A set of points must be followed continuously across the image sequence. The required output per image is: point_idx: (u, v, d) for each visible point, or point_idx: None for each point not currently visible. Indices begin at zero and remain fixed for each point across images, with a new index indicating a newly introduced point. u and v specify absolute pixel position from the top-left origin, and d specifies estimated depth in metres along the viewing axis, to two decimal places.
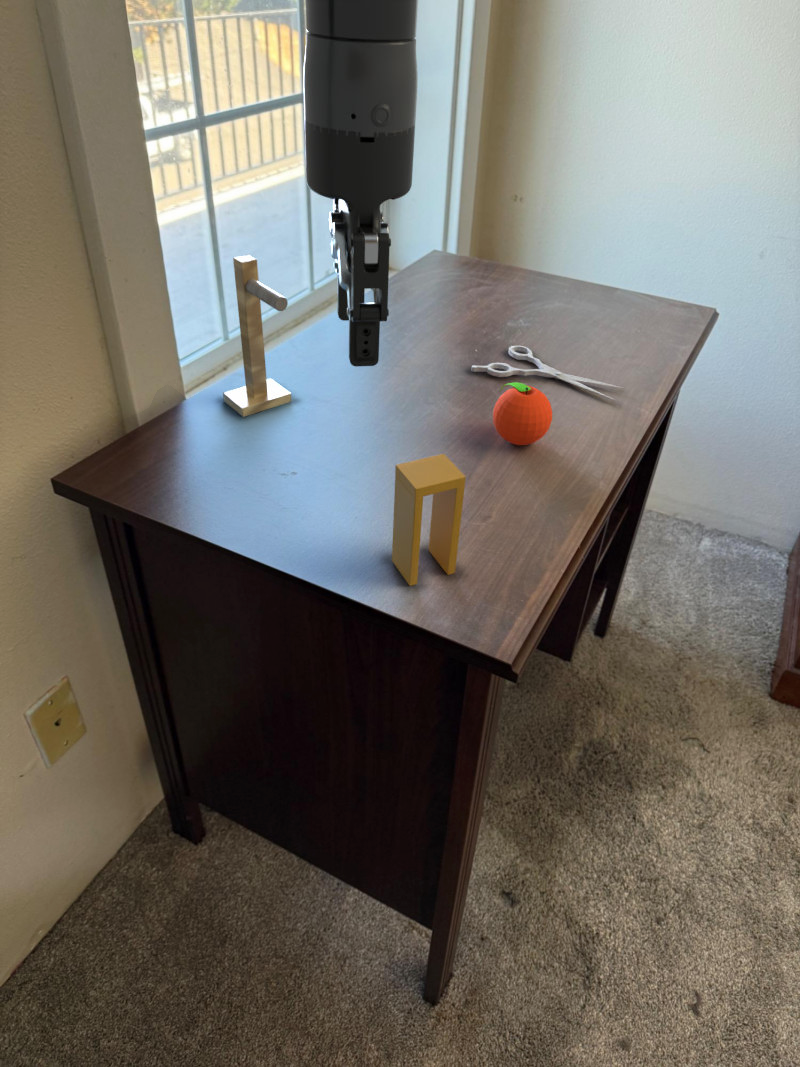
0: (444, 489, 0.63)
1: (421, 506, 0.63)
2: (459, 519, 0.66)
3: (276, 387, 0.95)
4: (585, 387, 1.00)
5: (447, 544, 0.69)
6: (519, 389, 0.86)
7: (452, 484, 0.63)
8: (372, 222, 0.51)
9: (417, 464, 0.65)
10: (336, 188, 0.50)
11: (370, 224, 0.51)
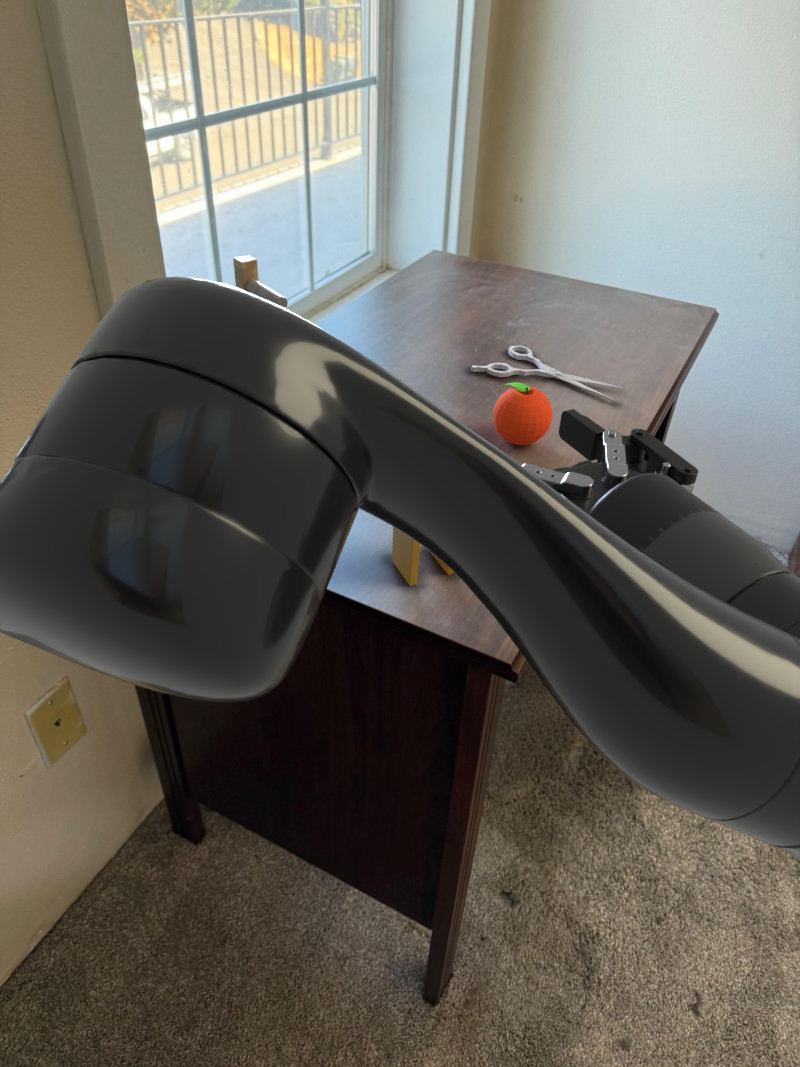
0: None
1: None
2: None
3: None
4: (585, 387, 1.00)
5: None
6: (519, 389, 0.86)
7: None
8: None
9: None
10: None
11: None
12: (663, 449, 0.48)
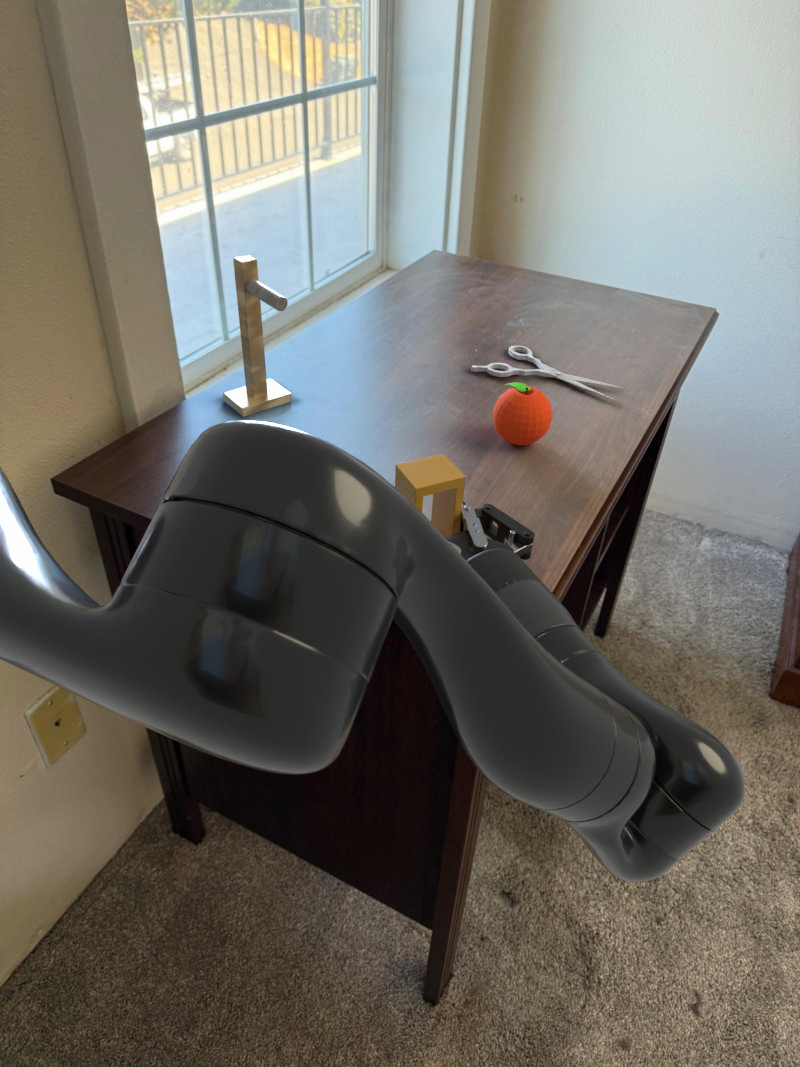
0: (444, 489, 0.63)
1: (421, 506, 0.63)
2: (459, 519, 0.66)
3: (276, 387, 0.95)
4: (585, 387, 1.00)
5: None
6: (519, 389, 0.86)
7: (452, 484, 0.63)
8: None
9: (418, 464, 0.65)
10: None
11: None
12: (507, 519, 0.65)
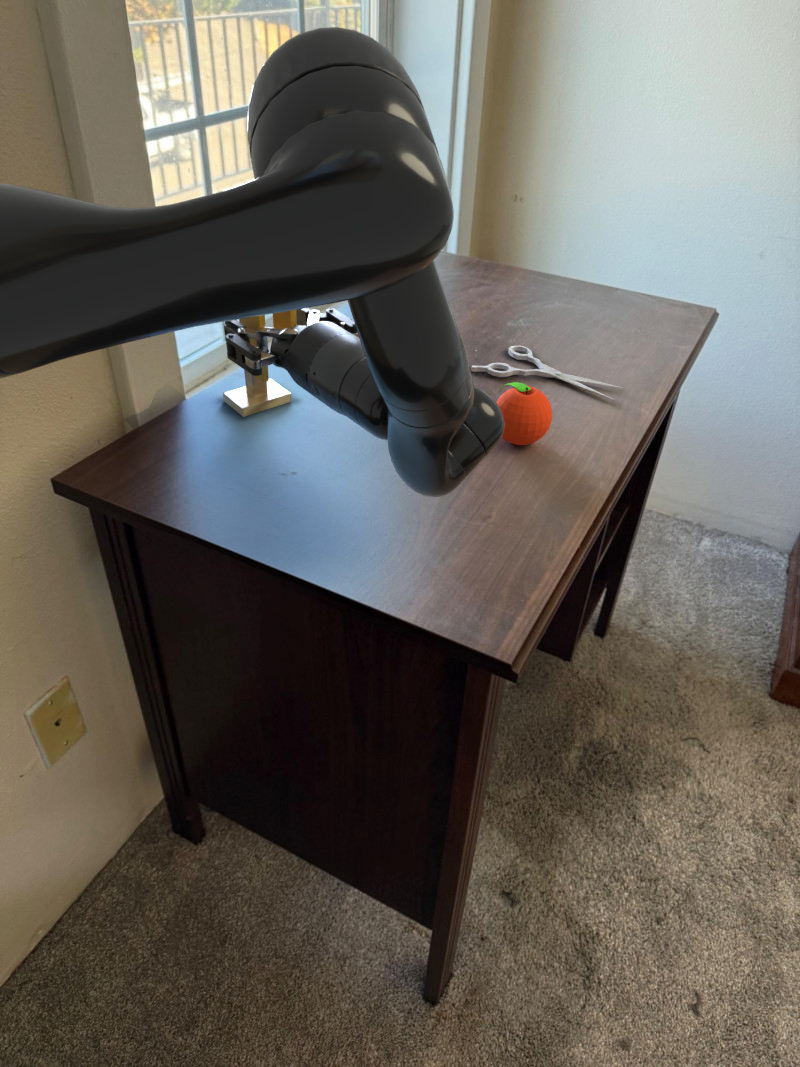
0: None
1: None
2: (295, 321, 0.84)
3: (276, 387, 0.95)
4: (585, 387, 1.00)
5: None
6: (519, 389, 0.86)
7: None
8: (279, 363, 0.78)
9: None
10: (293, 347, 0.76)
11: (280, 361, 0.78)
12: (342, 316, 0.84)
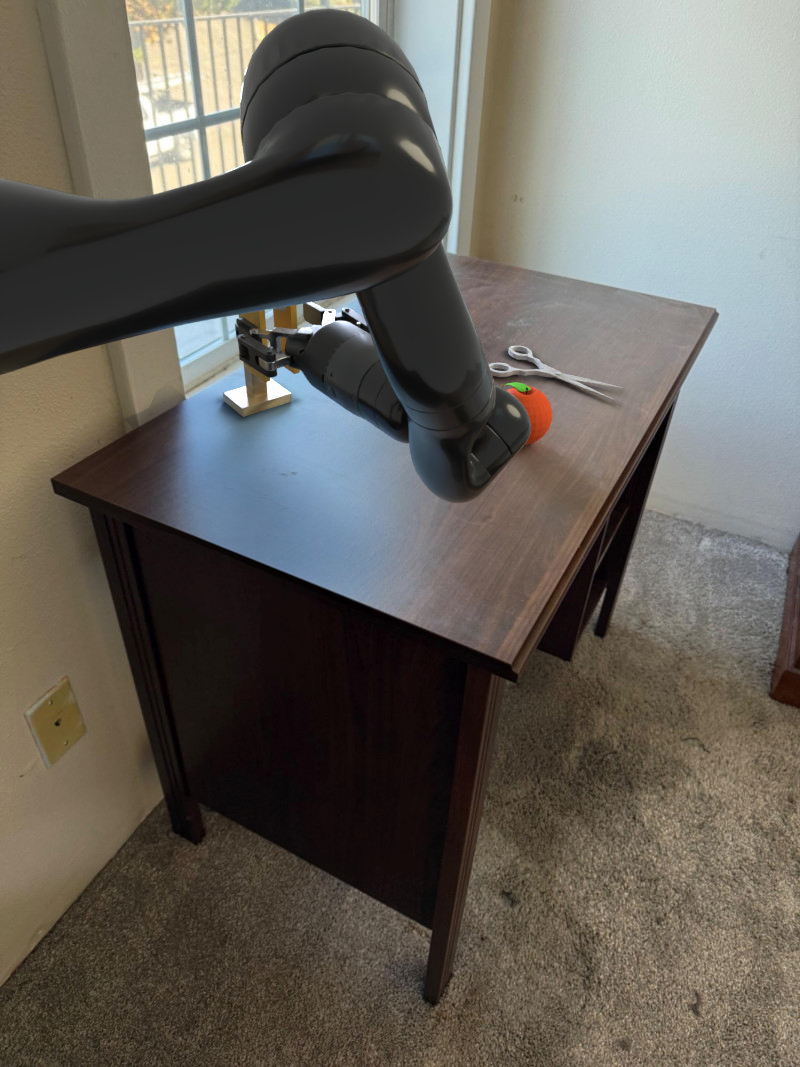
0: None
1: None
2: (295, 320, 0.84)
3: (276, 387, 0.95)
4: (585, 387, 1.00)
5: None
6: (519, 389, 0.86)
7: None
8: (294, 364, 0.76)
9: None
10: (309, 347, 0.73)
11: (294, 362, 0.76)
12: (358, 316, 0.82)
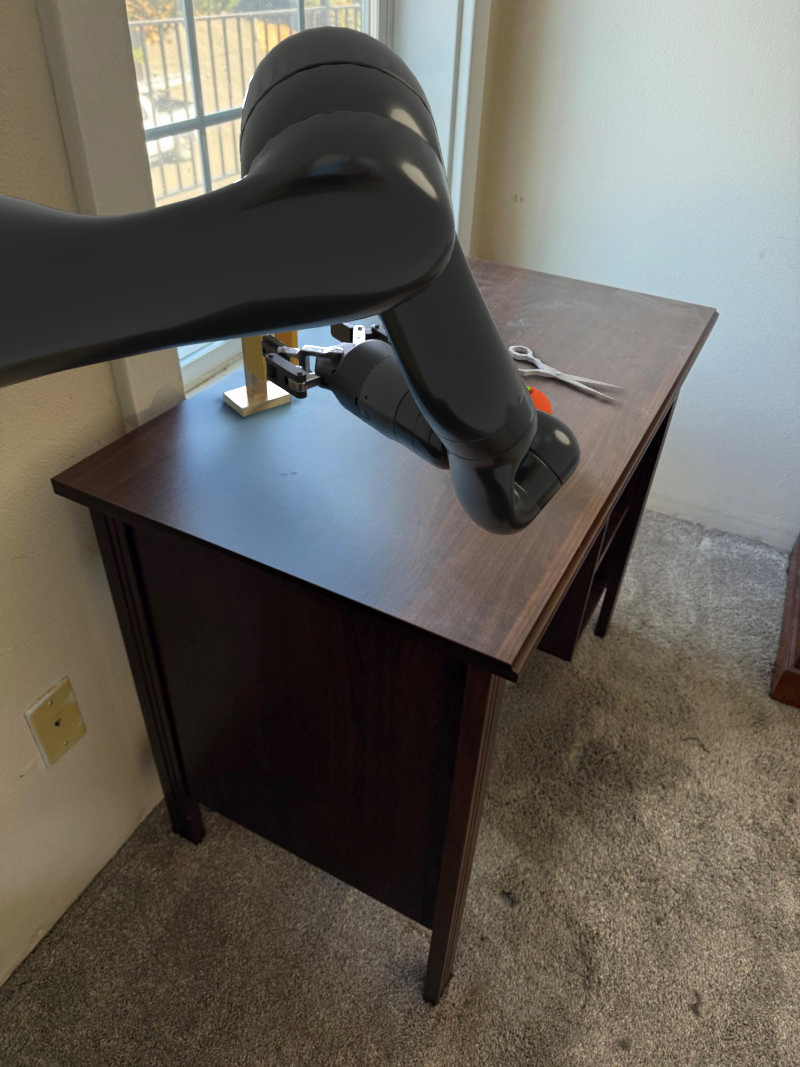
0: None
1: None
2: None
3: (276, 387, 0.95)
4: (585, 387, 1.00)
5: (289, 346, 0.86)
6: None
7: None
8: (325, 384, 0.72)
9: None
10: (341, 367, 0.70)
11: (325, 382, 0.73)
12: None
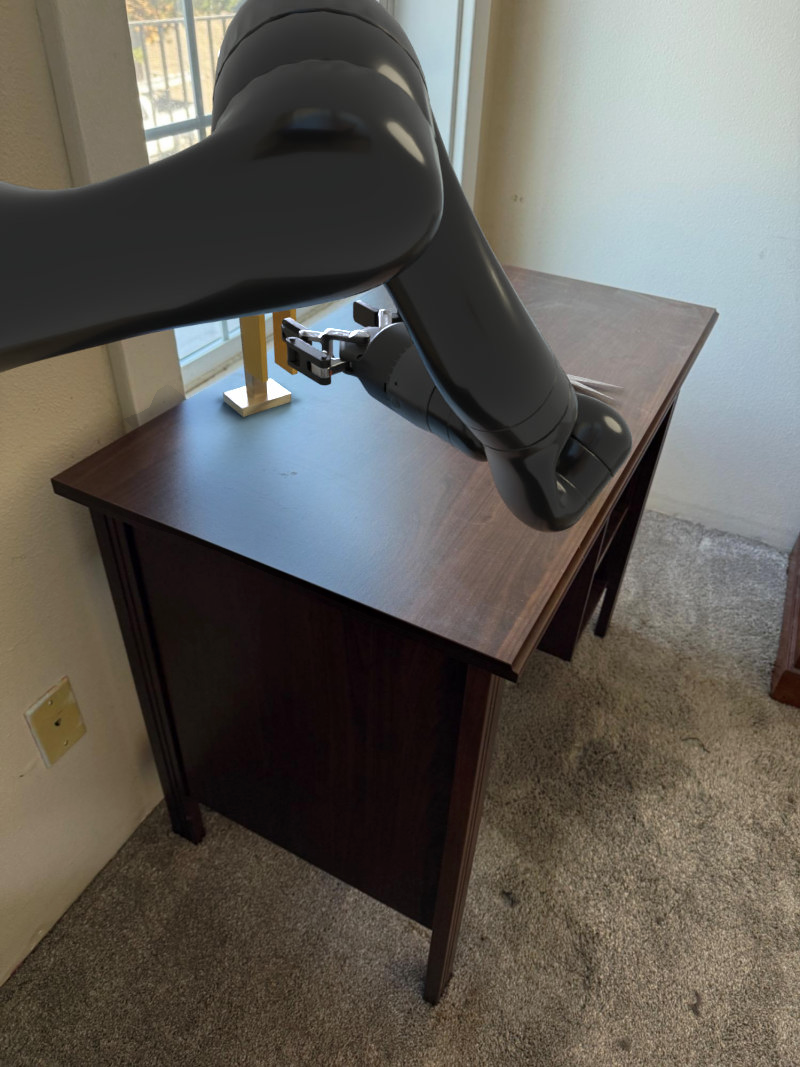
0: None
1: None
2: None
3: (276, 387, 0.95)
4: (585, 387, 1.00)
5: None
6: None
7: None
8: (350, 370, 0.68)
9: None
10: (369, 352, 0.65)
11: (350, 368, 0.68)
12: None
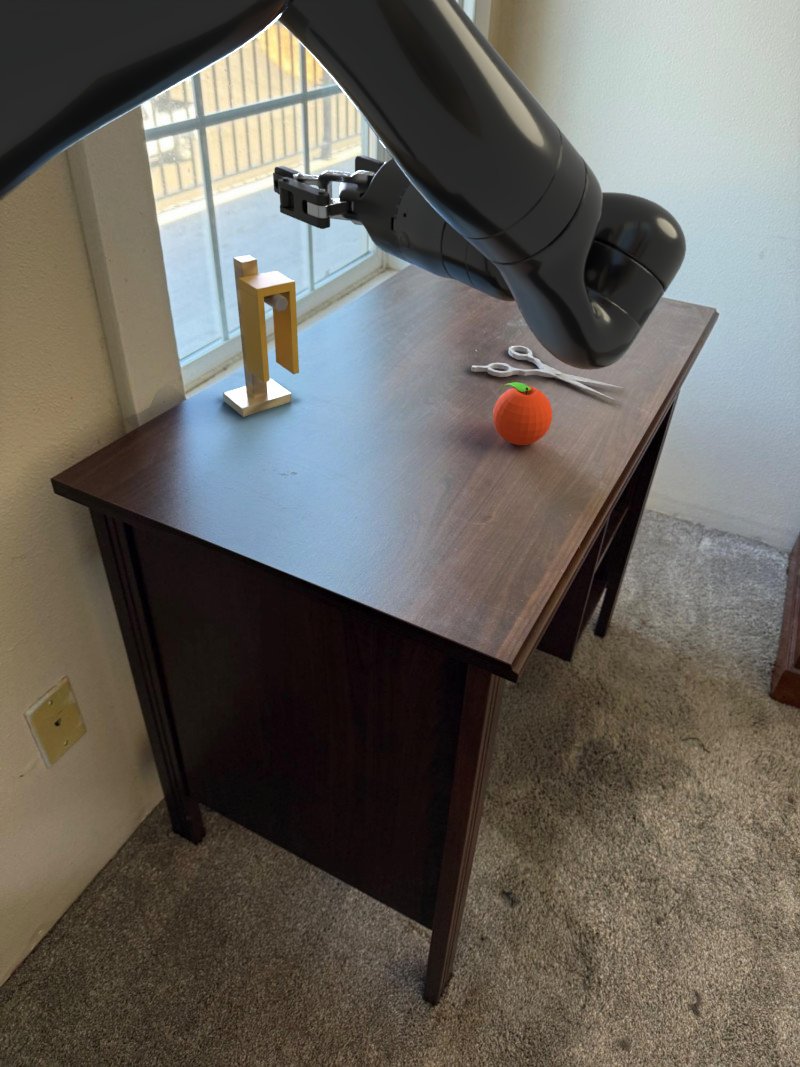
0: (279, 291, 0.81)
1: (263, 306, 0.81)
2: (295, 321, 0.84)
3: (276, 387, 0.95)
4: (585, 387, 1.00)
5: (289, 346, 0.86)
6: (519, 389, 0.86)
7: (285, 287, 0.81)
8: (351, 213, 0.59)
9: (256, 277, 0.82)
10: (373, 185, 0.57)
11: (352, 211, 0.59)
12: None
